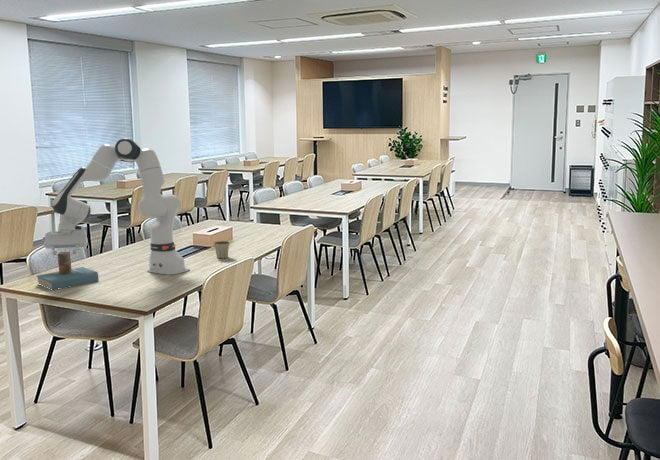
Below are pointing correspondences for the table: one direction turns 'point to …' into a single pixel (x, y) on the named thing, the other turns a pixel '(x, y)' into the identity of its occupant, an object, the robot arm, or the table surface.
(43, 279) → the book
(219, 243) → the flower pot
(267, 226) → the table surface
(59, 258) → the walnut block
